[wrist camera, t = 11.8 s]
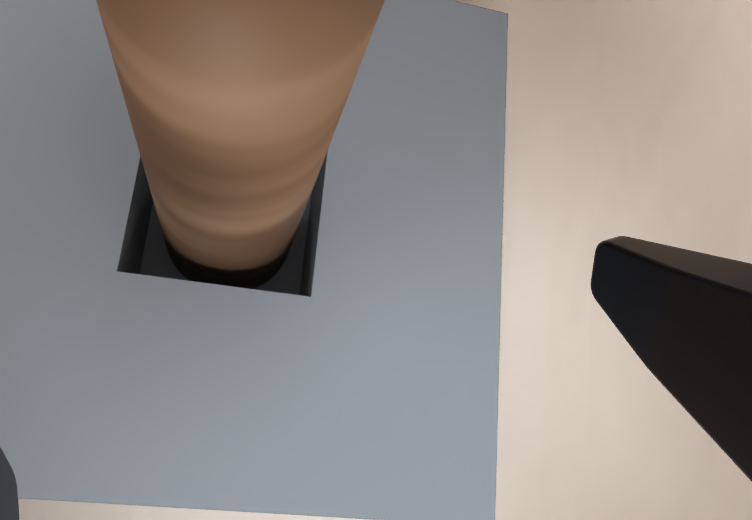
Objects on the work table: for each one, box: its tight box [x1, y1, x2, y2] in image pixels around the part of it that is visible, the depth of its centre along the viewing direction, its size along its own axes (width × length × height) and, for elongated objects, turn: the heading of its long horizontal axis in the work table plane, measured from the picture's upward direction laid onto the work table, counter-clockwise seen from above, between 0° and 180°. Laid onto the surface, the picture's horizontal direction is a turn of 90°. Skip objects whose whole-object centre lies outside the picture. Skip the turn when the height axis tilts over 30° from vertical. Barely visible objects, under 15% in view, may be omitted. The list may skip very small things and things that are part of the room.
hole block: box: [0, 0, 508, 520], centre depth 19 cm, size 16×16×4 cm
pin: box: [96, 0, 385, 289], centre depth 14 cm, size 4×4×13 cm
